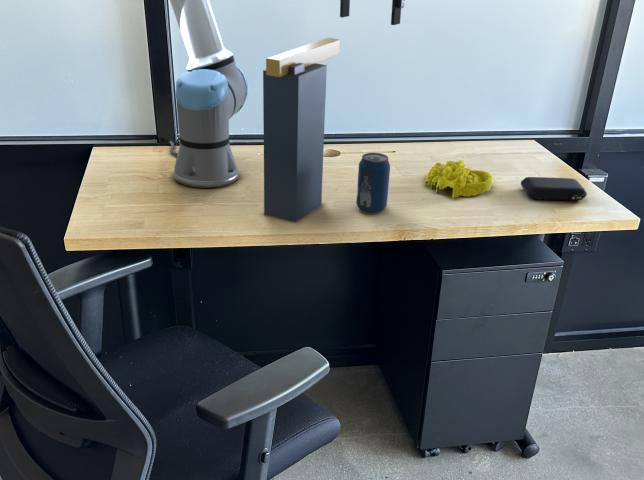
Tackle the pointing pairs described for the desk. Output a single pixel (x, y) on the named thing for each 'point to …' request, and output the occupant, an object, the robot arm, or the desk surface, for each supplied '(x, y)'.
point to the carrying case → (553, 188)
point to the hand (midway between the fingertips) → (369, 20)
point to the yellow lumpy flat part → (459, 178)
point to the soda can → (373, 183)
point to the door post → (294, 141)
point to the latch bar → (302, 56)
